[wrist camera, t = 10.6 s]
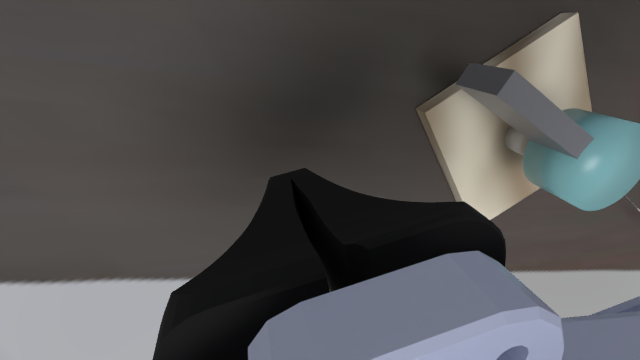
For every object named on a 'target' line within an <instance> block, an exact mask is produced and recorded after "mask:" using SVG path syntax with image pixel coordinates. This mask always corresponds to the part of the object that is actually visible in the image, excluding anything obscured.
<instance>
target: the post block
mask: <svg viewBox="0 0 640 360" xmlns="http://www.w3.org/2000/svg"><path fill="white" fill-rule="evenodd" d="M483 65H488V66H494V67H500V68H506V69H512V70H516V71H517V72H518V73H519V74H520V75H521V76H523V77H524V78H525V79H526V80H527V81H528V82H529V83H531V84H532V85H533V86H534V87H535V88H536V89H538V90H539V91H540V92H541V93H542V94H543V95H544V96H546V97H547V98H548V99H549V100H550V101H551V102H553V103H554V104H555V105H556V106H557V107H558V108H559V109H561V110H565V109H570V108H578V109H582V110H586V111H590V112H592V110H591V102H590V95H589V88H588V80H587V73H586V66H585V59H584V51H583V44H582V37H581V30H580V22H579V15H578V13H560V14H559V15H557V16H556V17H554V18H553V19H551V20H550V21H548V22H547V23H545V24H544V25H542V26H540V27H539V28H537V29H536V30H534V31H533V32H531V33H530V34H528V35H527V36H525V37H524V38H522V39H521V40H519V41H518V42H516V43H515V44H513V45H512V46H510V47H509V48H507V49H505V50H504V51H502V52H501V53H499V54H498V55H496V56H495V57H493V58H492V59H490V60H489V61H487V62H486V63H484V64H483ZM455 84H456V82H455V83H454V84H452V85H451V86H449V87H448V88H446V89H445V90H443V91H442V92H440V93H439V94H437V95H435V96H434V97H432V98H431V99H429V100H428V101H426V102H425V103H423V104H422V105H420V106H419V107H417V108H416V111H417V113H418V115H419V117H420V120H421V122H422V124H423V127H424V129H425V131H426V134H427V136H428V138H429V140H430V143H431V145H432V147H433V150H434V152H435V154H436V156H437V159H438V161H439V163H440V166H441V168H442V170H443V173H444V175H445V177H446V179H447V182H448V184H449V186H450V189H451V191H452V193H453V195H454V198H455V200H456V202H462V201H464V202H466V203H467V204H469V205H470V206H472V207H473V208H474V209H476V210H477V211H478V212H480V213H481V214H482V215H484V216H485V217H486V218H488V219H489V220H491V219H492V218H494V217H496V216H497V215H499V214H500V213H502V212H503V211H505V210H507V209H508V208H510V207H511V206H513V205H514V204H516V203H518V202H519V201H521V200H522V199H524V198H525V197H527V196H528V195H530V194H532V193H533V192H535V191H536V190H538V189H539V188H540V187H538V186H537V185H535V184H533V183H531V182H530V181H529V180H528V179H527V178H526V176H525V174H524V171H523V156H524V152H525V149H526V146H527V144H528V142H529V139H528V138H526V137H525V136H523V135H522V134H521V133H519V132H518V131H517V130H515V129H514V128H513V127H511V126H510V125H509V124H507V123H506V122H505V121H503V120H502V119H501V118H499V117H498V116H497V115H495V114H494V113H493V112H491V111H490V110H489V109H487V108H486V107H485V106H483V105H482V104H481V103H479V102H478V101H477V100H475V99H474V98H473V97H471V96H470V95H469V94H467V93H466V92H465V91H463V90H462V89H461V88H459V87H458V86H457V85H455Z"/></svg>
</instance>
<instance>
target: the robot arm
mask: <svg viewBox="0 0 640 360" xmlns="http://www.w3.org/2000/svg"><path fill="white" fill-rule="evenodd" d="M505 259H506V245H505V239H504V237H503V235H502V232H501V230H500V229H499V228H498V227H497V226H496V225H495V224H494V223H493V222H492V221H490V220H489V219H488V218H486V217H485V216H484V215H482V214H481V213H480V212H478V211H477V210H476V209H474V208H473V207H472V206H470V205H469V204H467V203H466V202H464V201H462V202H435V203H425V202H406V201H396V200H389V199H383V198H377V197H373V196H369V195H365V194H361V193H358V192H354V191H351V190H349V189H346V188H344V187H341V186H339V185H336V184H334V183H332V182H330V181H328V180H326V179H324V178H322V177H320V176H318V175H316V174H315V173H313V172H311V171H309V170H308V169H306V168H303V169H299V170H295V171H292V172H288V173H285V174H281V175H277V176H274V177H270V179H269V181H268V185H267V188H266V191H265V194H264V197H263V199H262V202H261V204H260V206H259V208H258V210H257V212H256V214H255V216H254V217H253V219H252V221H251V223H250V224H249V226H248V227H247V228H246V230H245V231H244V232H243V234H242V235H241V236H240V237H239V238H238V239H237V240H236V242H235V243H234V244H233V245H232V246H231V247H230V248H229V249H228V250H227V251H226V252H225V253H224V254H223V255H222V256H221V257H220V258H219V259H217V260H216V261H215V262H214V263H213V264H211V265H210V266H209V267H208V268H207V269H205V270H204V271H203V272H201V273H200V274H199V275H197V276H196V277H194V278H193V279H191V280H190V281H189V282H187V283H186V284H184V285H183V286H181V287H180V288H178V289H177V290H175V291H173V292H172V293H171V295H170V299H169V301H168V304H167V307H166V309H165V312H164V315H163V319H162V322H161V325H160V330H159V334H158V339H157V343H156V347H155V352H154V356H153V360H640V296H639V297H637V298H634V299H632V300H629V301H626V302H624V303H621V304H618V305H616V306H613V307H611V308H608V309H605V310H603V311H600V312H597V313H595V314H592V315H589V316H580V317H570V318H561V317H560V316H559V315H558V314H556V313H555V312H554V311H553V310H552V309H551V308H550V307H548V306H547V305H546V304H545V303H544V302H543V301H542V300H541V299H540V298H538V297H537V296H536V295H535V294H534V293H533V292H532V291H531V290H530V289H528V288H527V287H526V286H525V285H524V284H523V283H522V282H521V281H519V280H518V279H517V278H516V277H515V276H514V275H513V274H512V273H510V272H509V271H508V270H507V269H506V268H505ZM329 289H330V290H329Z"/></svg>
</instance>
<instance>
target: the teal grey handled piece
mask: <svg viewBox="0 0 640 360" xmlns="http://www.w3.org/2000/svg"><path fill="white" fill-rule="evenodd" d="M455 85H457V86H458V87H459V88H461V89H462V90H463V91H465V92H466V93H467V94H469V95H470V96H471V97H473V98H474V99H475V100H477V101H478V102H479V103H481V104H482V105H483V106H485V107H486V108H487V109H489V110H490V111H491V112H493V113H494V114H495V115H497V116H498V117H499V118H501V119H502V120H503V121H505V122H506V123H507V124H509V125H510V126H511V127H513V128H514V129H515V130H517V131H518V132H519V133H521V134H522V135H523V136H525V137H526V138H528V139H529V142H528V144H527V146H526V149H525V152H524V156H523V171H524V174H525V176H526V178H527V179H528V180H529V181H530V182H531V183H533V184H535V185H537V186H538V187H540V188H542V189H544V190H546V191H548V192H550V193H552V194H553V195H555V196H557V197H559V198H561V199H563V200H565V201H567V202H569V203H570V204H572V205H574V206H576V207H578V208H580V209H582V210H586V211H595V210H599V209H602V208H605V207H607V206H609V205H611V204H613V203H615V202H616V201H618V200H619V199H621V198H622V197H623V196H624V195H625V194H627V193H628V192H629V191H630V190H631V189H632V188H633V186H634V185H635V184H636V183H637V182H638V180H639V179H640V124H639V123H635V122H630V121H626V120H622V119H618V118H614V117H610V116H606V115H602V114H598V113H594V112H590V111H586V110H582V109H578V108H570V109H565V110H561V109H559V108H558V107H557V106H556V105H555V104H554V103H553V102H551V101H550V100H549V99H548V98H547V97H546V96H544V95H543V94H542V93H541V92H540V91H539V90H538V89H536V88H535V87H534V86H533V85H532V84H531V83H529V82H528V81H527V80H526V79H525V78H524V77H523V76H521V75H520V74H519V73H518V72H517V71H516V70H512V69H506V68H500V67H494V66H488V65H482V64H476V63H469V64H468V66H467V67H466V69H465V70H464V72H463V73H462V75H461V76H460V78H459V79H458V81H457V82H456V84H455Z"/></svg>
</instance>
